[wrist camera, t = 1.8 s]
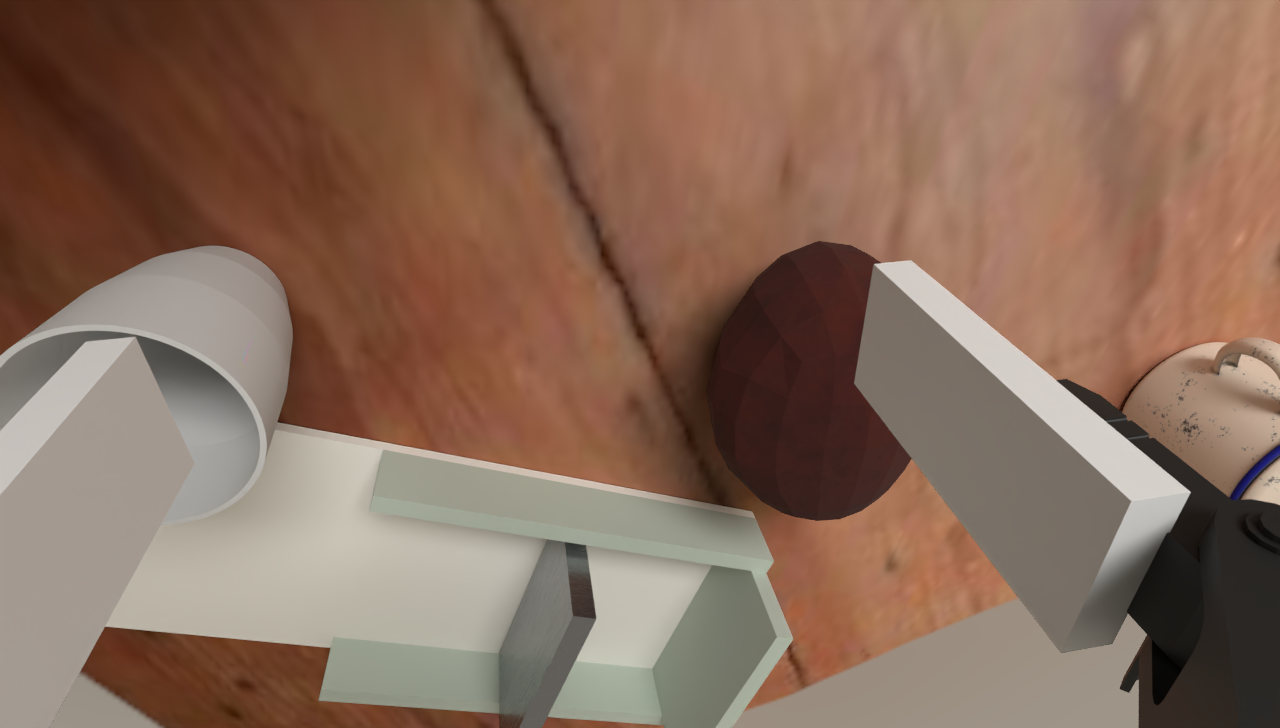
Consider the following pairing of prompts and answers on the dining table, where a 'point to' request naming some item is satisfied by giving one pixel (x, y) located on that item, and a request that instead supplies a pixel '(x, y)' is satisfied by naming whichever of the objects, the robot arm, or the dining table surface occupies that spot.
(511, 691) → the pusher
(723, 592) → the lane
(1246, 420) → the teacup with lid
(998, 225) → the dining table surface
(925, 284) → the robot arm
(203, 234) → the dining table surface
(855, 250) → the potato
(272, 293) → the cup
